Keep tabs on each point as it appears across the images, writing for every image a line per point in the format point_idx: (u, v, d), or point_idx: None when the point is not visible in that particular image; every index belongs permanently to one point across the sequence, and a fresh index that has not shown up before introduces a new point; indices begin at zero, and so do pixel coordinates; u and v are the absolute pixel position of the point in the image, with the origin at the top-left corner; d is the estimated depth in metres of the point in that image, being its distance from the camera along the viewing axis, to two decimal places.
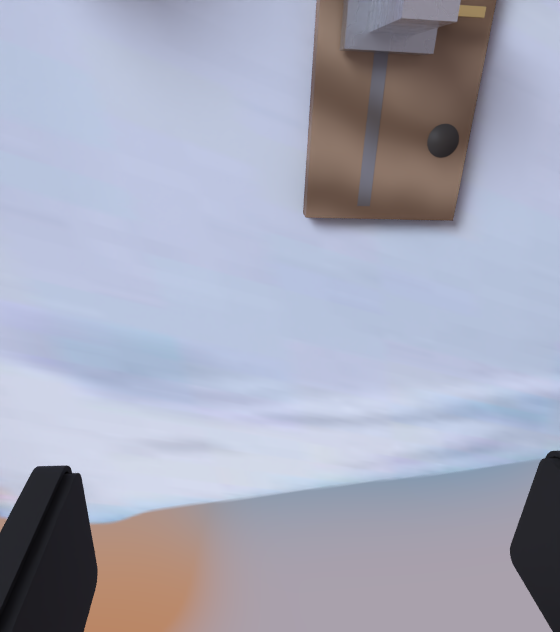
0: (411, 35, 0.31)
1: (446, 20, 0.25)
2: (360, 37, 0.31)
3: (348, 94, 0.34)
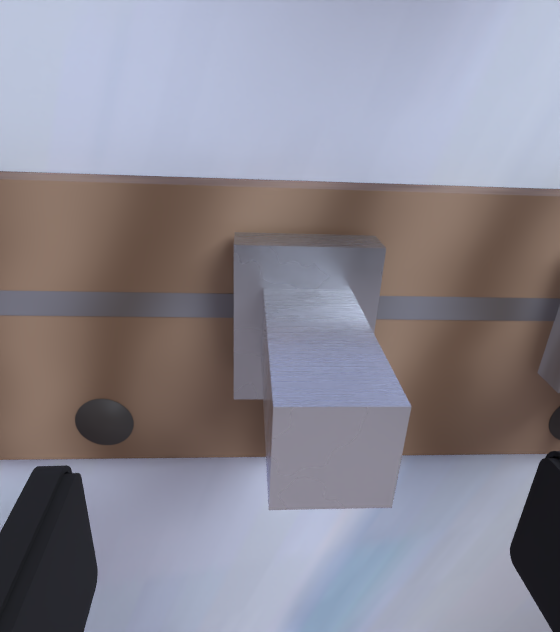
0: (260, 361, 0.17)
1: (270, 491, 0.11)
2: (254, 274, 0.16)
3: (161, 253, 0.17)
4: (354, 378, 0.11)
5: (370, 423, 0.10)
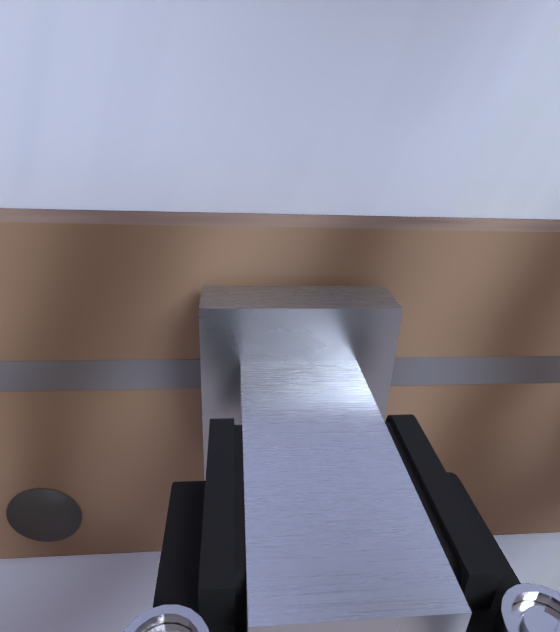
0: None
1: None
2: (227, 344, 0.12)
3: (106, 312, 0.13)
4: (375, 546, 0.07)
5: None
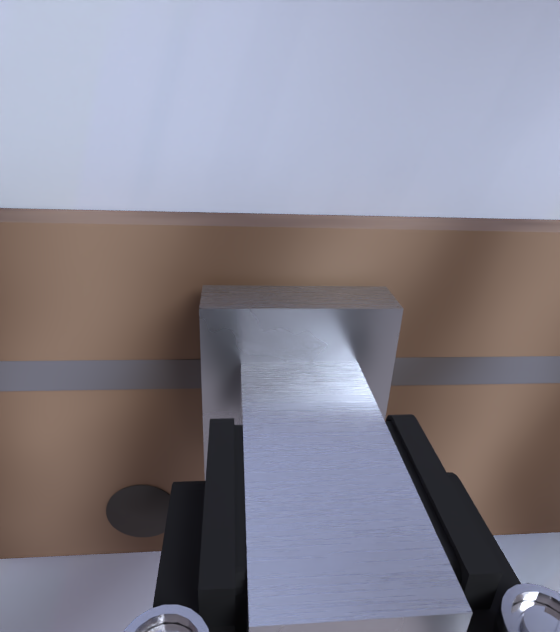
0: None
1: None
2: (228, 344, 0.12)
3: None
4: (376, 546, 0.07)
5: None
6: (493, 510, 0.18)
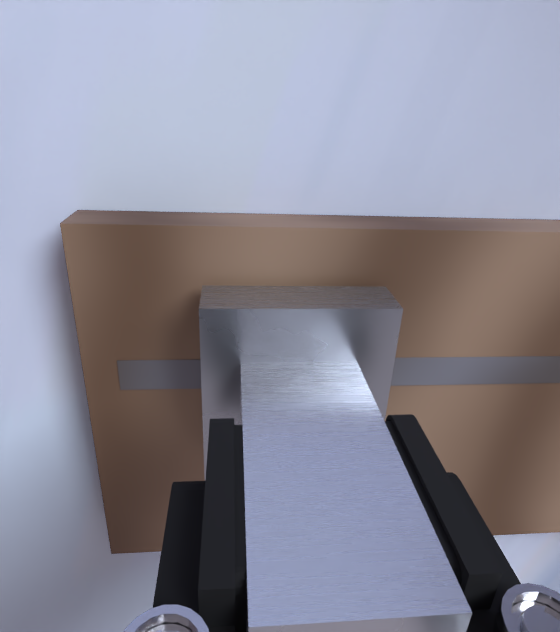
0: None
1: None
2: (227, 345, 0.12)
3: None
4: (375, 546, 0.07)
5: None
6: None
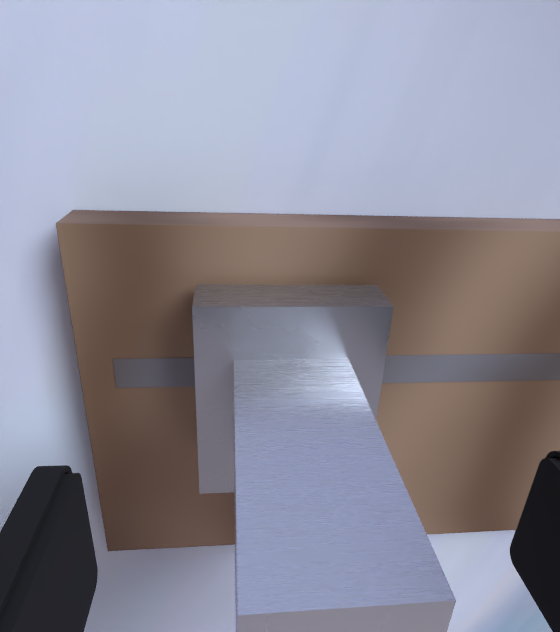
0: (232, 448, 0.13)
1: None
2: (221, 342, 0.12)
3: None
4: (363, 537, 0.07)
5: (391, 624, 0.07)
6: None
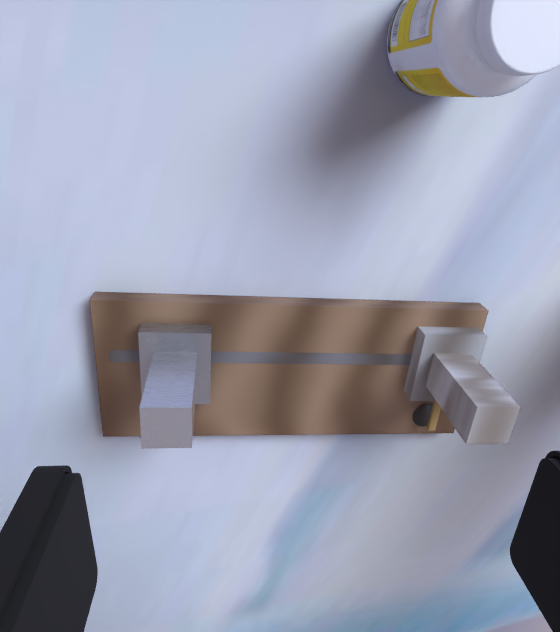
0: None
1: (141, 440, 0.29)
2: (148, 345, 0.33)
3: (216, 333, 0.36)
4: (175, 396, 0.29)
5: (177, 413, 0.28)
6: (332, 421, 0.40)
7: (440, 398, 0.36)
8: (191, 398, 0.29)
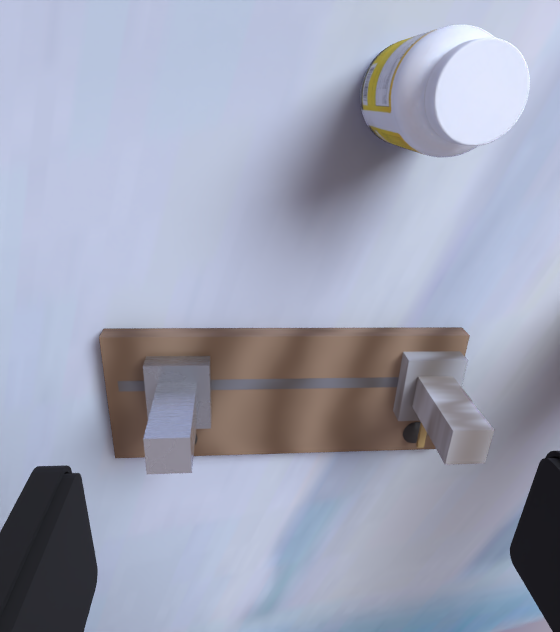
0: None
1: (146, 467, 0.32)
2: (152, 377, 0.37)
3: (214, 363, 0.39)
4: (175, 427, 0.32)
5: (177, 443, 0.31)
6: (327, 440, 0.43)
7: (424, 419, 0.38)
8: (190, 428, 0.32)
